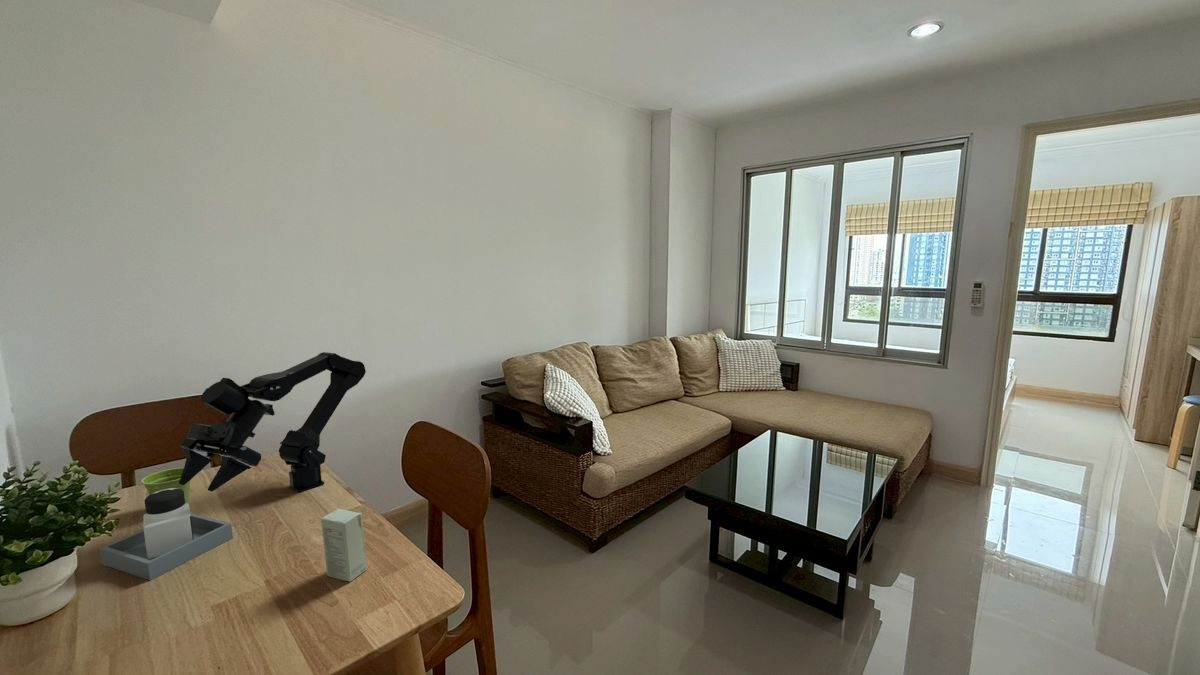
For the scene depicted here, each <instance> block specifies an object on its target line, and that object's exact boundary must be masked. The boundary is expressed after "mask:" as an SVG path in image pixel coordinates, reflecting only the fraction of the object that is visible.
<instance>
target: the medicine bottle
mask: <svg viewBox="0 0 1200 675" xmlns="http://www.w3.org/2000/svg"><path fill="white" fill-rule="evenodd" d="M144 508H145V513H144V514H143V515H142V516H143V518H142V520H143V526H142V528H143V529H142V530H144V536H145V544H146V551H147V558H148V559H152V558H155V557H159V556H161V555H163V554H165V553H167V552H169V551H171V550H173V549H175V548H177V547H179V546H181V545H184V544H186V543H188V542H190V541H192V540H194V537H193V529H192V521H191V514H190V513H191V511H190V510H191V509H190V504H189V502H188V503H186V504H185V497H184V491H183V490H182V489H179V488H169V489H164V490H160V491H157V492H155V493H153V494H151V495H149V494H148V495H147V496H146V497H145V499H144Z"/></svg>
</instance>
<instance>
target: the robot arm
mask: <svg viewBox="0 0 1200 675" xmlns="http://www.w3.org/2000/svg"><path fill="white" fill-rule="evenodd" d="M326 370H327V371H329V372H330V376H329V378H330V379H329V380H330V381H329V382H330V383H329V385H328V386H327V388H326V390H325V391H324V393H323V394H322V396H321V397H320V398H319V400H318V402H317V403H316V404H315V406H314V408H313V410H311V412H310V414H309V415H308V417H307V419H306V420H305V421H304V423H303V425H302V426H301V427H300V428H299V429H297V430H293V429H290V430H289V431H288V432H287V433H286V435H285V436H284V438H283V440H282V441H280V443H279V445H280V447H279V448H278V452H279V453H278V454H279V457H280V459H281V460H283V461H284V463H285V464H286V465H287V466H290V471H288V477H289V486H290V487H291V488H293V489H294V491H295V490H296V492H297V493H300V492H305V491H306V490H310V489H313V488H316V486H317V487H319V486H322V485H325V481H323V480H322V469H321V465H323V464H325V461H326V457H327V456H326V454H324V453H323V452H321V451H319V447H320V443H321V441H320V440H321V438H320V437H321V433H322V432H323V430H324V428H325V427H326V426H327V424H328V422H329V421H330V419H331V418H332V416H333V414H334V412H335V411H336V409H337V408H338V406H339V405H340V403H341V402H342V400H343V398H344V397H345V394H346V393H347V392H348V391H349V390H351V389H352V388H354V387H355V386H358V384H359V383H360V382H361V381H362V379H363V378H364V377H365V374H366V372H367V370H366V367H365V364H364V363H363V362H362V361H360V360H352V359H350V358H347V357H343V356H341V355H339V354H337V353H335V352H326V351H325V352H320V353H319V354H317V355H316V356H314V357H311V358H308V359H307V360H305V361H302V362H300V363H298V364H296V365H294V366H292V367H289V368H287V369H285V370H283V371H278V372H273V373H267V374H262V375H258V376H256V377H253V378H252V379H251V380H250V381H249V383H248V382H247V383H246V384H242V385H239V384H237V383H236V382H235V381H234V380H233V379H231V378H229V377H222V378H221V379H220V381H217V382H215V383H213V384H211V385H210V386H208V387H207V388H206V389H205V390H204V391H203V392H202V394H201V398H200V401H201V402H202V403H204V404H206V405H208V406H209V407H211V408H213V409H214V410H216V411H218V412H220V413H221V414H224V415H230V414H231V415H230V416H229V417H228V419H227V420H226V421H224V420H221V421H219V422H216V421H214V422H213V423H212V424H202V423H201V424H200V423H193V422H192V423H190V427H189V429H188V432H187V435H186V438H185V439H183V441H182V442H181V444H180V445H179V446H180V447H181V448H182V452H183V453H184V454H185V458H186V459H185V461H184V462H185V463H184V466H183V468H184V469H183V472H182V475H181V478H180V481H179V484H181V485H185V484H186V483H187V482H189V481H190V482H191V480H192V479H193V478H194V477H195V476H197V475H198V474H199V472H201V471H202V470H203V469H204V468H205V467H207V466H208V465H209V464H210V463H211V462H212V461H213V459H212V458H214V456H216V455H219V456H221V459H220V460H221V465H220V467H219V469H218V471H217V472H216V474H215V476H214V477H213V478H212V481H211V482H210V484H209V486H208V487H207V491H209V492H215V491H216V490H217V489H219V488H220V487H222V486H223V485H224V484H226V483H228V482H229V481H230V480H232V479H234V478H235V477H236V476H238V475H240V474H242V473H243V472H245V471H247V470H251V469H252V467H258V465H259V464H260V462H261V460H262V454H261V453H260V452H258V451H256V450H254V449H253V448H250V447H248V446H246V445H244V444H245V443H246V441H247V440H248V439H249V438H254V437H255V436H256V432H253V431H255V429H256V427H257V426H258V424H260V421H261V420H262V419H263V417H264V416H265V415H266V416H275V415H276V414H275V410H274V407H273V404H271V403H263V402H262V401H268V402H269V401H270V402H277V401H280V400H281V399H283V398H284V397H286V395H288V394H289V393H291V391H292V390H293V388H294V387H295V386H297V385H298V384H301V383H302V382H305V381H306V380H308V379H311V378H312V377H315V376H316V375H319V374H320V373H322V372H325V371H326ZM250 398H252V399H250ZM261 400H262V401H261Z"/></svg>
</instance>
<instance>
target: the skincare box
mask: <svg viewBox="0 0 1200 675" xmlns="http://www.w3.org/2000/svg"><path fill="white" fill-rule="evenodd" d="M320 520H321V529H322V530H321V532H322V538H323V540H322V541H323V550H324V558H325V559H324V560H325V568H326V569H325V570H326V576H327V577H330V578H334V579H337V580H341V581H345V582H346V581H347V582H352V581H354V580H355V579H356V578H357V577H359V576H360V575H361V574H363V573H364V572H365V571H366V570H368V564H367V554H366V543H365V533H364V524H363V523H364V521H363V512H361V511H360V512H359V511H355V510H351V509H344V508H340V507H339V508H337V509H335V510H334V511H332V512H330V513H329V514H327V515H325V516H323V517H321V518H320Z"/></svg>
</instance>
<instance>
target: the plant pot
mask: <svg viewBox="0 0 1200 675" xmlns="http://www.w3.org/2000/svg"><path fill="white" fill-rule="evenodd" d="M183 469H184V467H174V468H168V469H165V470H160V471H156V472H154V473H151V474H149V475H147V476H144V477H143V478H142V479H141V482H140V483H141V484H142V485H144V487H145V489H146V490H147V492H148V496H149V495H151V494H153V493H155V492H157V491H160V490H164V489H169V488H179V489H182V490H183V491H184V497H185V504H186V503H188V504H189V500H190V499H189V498H190V487H191V485H190V484H191V480H190V481H189V482H187V483H186V484H185V485H181V484H179V481H180V478H181V475H182V472H183Z"/></svg>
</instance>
